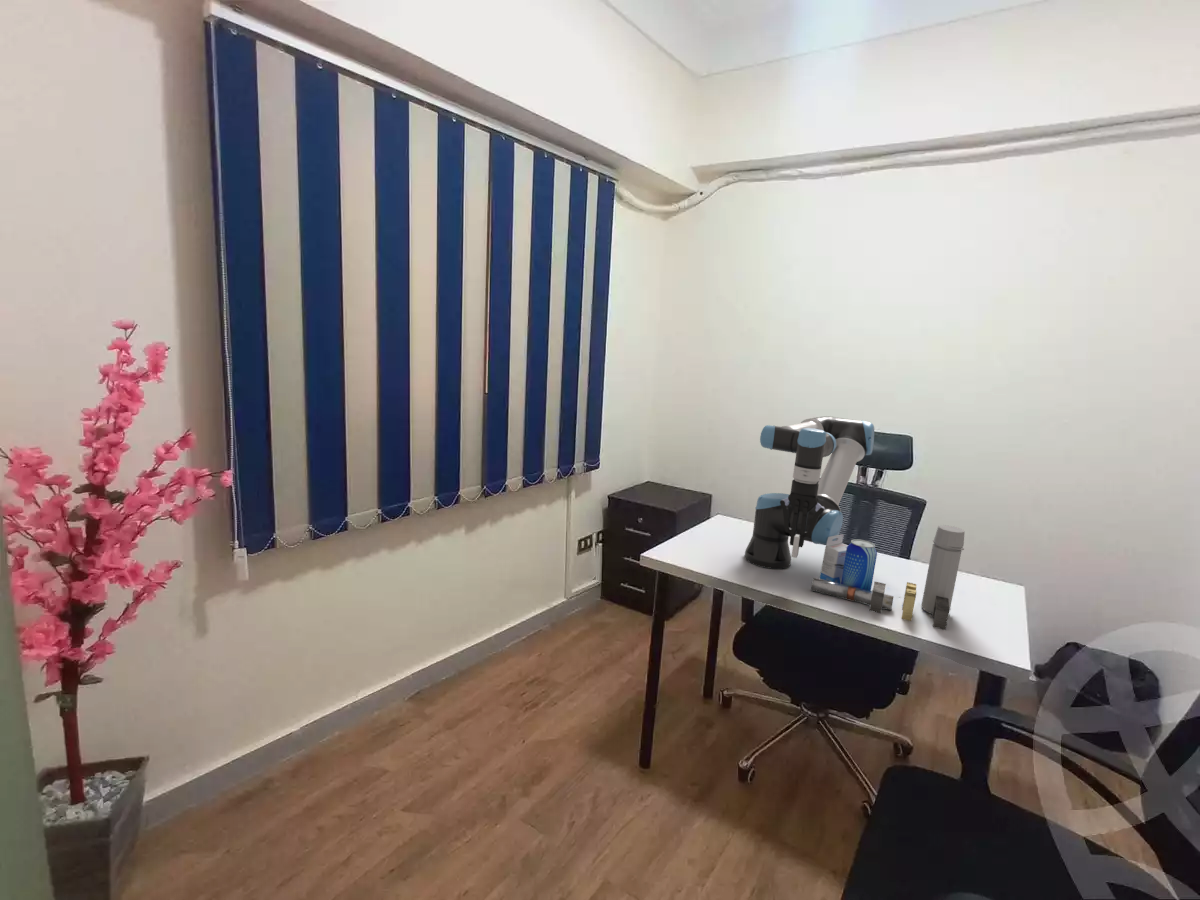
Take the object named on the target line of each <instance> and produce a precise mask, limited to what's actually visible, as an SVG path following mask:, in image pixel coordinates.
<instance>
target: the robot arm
mask: <svg viewBox="0 0 1200 900" xmlns="http://www.w3.org/2000/svg"><path fill="white" fill-rule="evenodd" d="M759 443H760V445H761V447H762V448H765V449H769V450H774V451H780V452H786V453H791V454H795V461H794V466H793V473H792V478H793V479H792V480H791V487H790V493H789V494H788V493H782V492H781V493H779V492H778V493H777V492H776V493H775V492H771V493H763V494H761V495H760V496H758V498H757V502H756V505H755V514H754V521H753V530H752V536H751V538H750V540H749V542H748V544H747V546H746V547H745V548H746V549H745V552H744V559H745V560H746V561H747V562H749V563H750V564H752V565H755V566H757V567H761V568H766V569H772V570H773V569H774V570H775V569H776V570H781V569H782V570H783V569H786V568H789V567H790V566H791V562H792V558H794V559H797V558H798V556H799V552H800V551H799V550H800V548H803V546H804V545H805V544H804V543H805V542H809V543H812V544H815V545H823V546H826V544H827V539H828V537H831V536H836V535H840V533H841V528H842V526H843V523H844V514H843V513H842V511H841V510H842V509H841V508H840V506H839V504H840V502H841V500H842V498H843V495H844V493H845V490H846V488H847V485H848V484H849V481H850V479H851V477H852V474H853V471H854V470H855V466H856V465H857V462H861V461H862V460H863V459H864V457H865V456H872V454H873V449H874V443H875V426H874V424H873V423H872V422H870V421H866V420H863V419H862V420H857V419H850V418H843V417H836V416H819V417H812V418H806V419H803V420H802V421H801V422H800V423H794V424H789V425H783V426H778V425H777V426H776V425H770V424H768V425H764V427H763V428H762V429H761V432H760V437H759ZM827 457H829V459H828V460H827V463H826V465H825V467H824V469H823V471H822V466H823V465H822V464H823V458H827ZM821 472H822V473H821ZM789 538H790V539H789ZM836 540H837V539H836V538H835V539H833V540H832V541H836ZM790 546H792V549H790ZM791 550H792V551H791Z"/></svg>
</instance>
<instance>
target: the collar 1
mask: <svg viewBox="0 0 1200 900" xmlns="http://www.w3.org/2000/svg"><path fill="white" fill-rule="evenodd" d="M873 582H874V583H873V588H872V591H873V592H872V597H871V603H870V605H869V611H870V612H873V613H878V614H882V609H883V608H882V604H883V598H884V594H885V590H886V585H887V583H883V582H879V581H873Z"/></svg>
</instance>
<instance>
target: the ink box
mask: <svg viewBox="0 0 1200 900" xmlns="http://www.w3.org/2000/svg"><path fill="white" fill-rule="evenodd" d="M835 538H836V540H835V541H832V540H833V539H835ZM843 541H844V534H839V535H836V536H831V537H828V539H827V544H826V545H825V549H824V553H823V558H822V559H823V560H822V564H821V569H820V573H819V579H823V580H827V581H831V582H835V583H840V584H841V581H842V574H843V568H844V562H845V556H846V549H847V546H848V545H849V544H846V543H843Z"/></svg>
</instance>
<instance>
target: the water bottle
mask: <svg viewBox="0 0 1200 900" xmlns="http://www.w3.org/2000/svg"><path fill="white" fill-rule="evenodd" d="M934 535H935V536H934V537H933V540H932V542H933V544H932V548H931V552H930V558H929V564H928V569H927V575H926V580H925V585H924V590H923V594H922V601H921V607H922V609H923V610H924V611H925V612H927V613H929V614H931V615H933V610H934V604H935V599H936V596H940V597H944V598H948V600H949V608H950V610H949V613H950V611H951V607H952V602H953V596H954V591H955V587H956V582H957V581H956V579H957V575H958V570H959V567H960V561H961V555H962V551H964V550H965V548H964V543H965V530H964V529H962V528H960V527H957V526H955V525H954V526H953V525H946V524H940V525H938V526H937V529H936V532H935V534H934Z"/></svg>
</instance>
